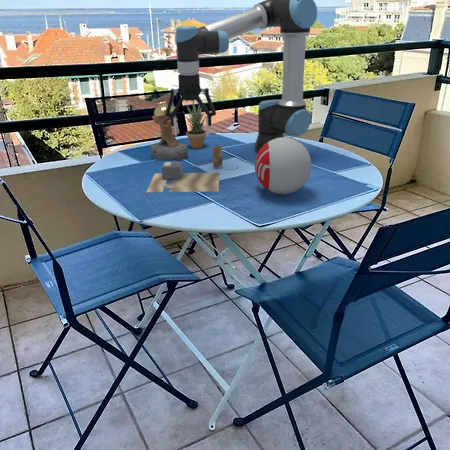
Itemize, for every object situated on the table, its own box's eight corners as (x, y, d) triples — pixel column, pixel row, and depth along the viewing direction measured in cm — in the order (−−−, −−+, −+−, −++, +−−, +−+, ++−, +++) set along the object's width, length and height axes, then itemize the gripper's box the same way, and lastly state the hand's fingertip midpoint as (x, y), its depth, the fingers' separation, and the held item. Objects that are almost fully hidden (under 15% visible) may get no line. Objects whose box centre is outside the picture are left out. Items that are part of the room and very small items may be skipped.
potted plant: (189, 143, 223) (186, 92, 212) (208, 144, 222) (206, 92, 211) (185, 149, 214) (182, 96, 203) (204, 150, 213) (202, 96, 202)
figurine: (189, 157, 203) (186, 101, 192) (171, 163, 196) (167, 105, 185) (169, 151, 212) (165, 97, 200) (151, 157, 204) (145, 101, 193)
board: (219, 176, 180) (219, 172, 179) (218, 195, 162) (218, 191, 161) (155, 176, 180) (154, 173, 180) (146, 196, 162) (146, 192, 162)
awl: (222, 168, 188) (222, 145, 184) (222, 172, 184) (222, 148, 180) (213, 168, 188) (212, 145, 184) (212, 172, 184) (212, 148, 180)
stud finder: (182, 174, 178) (181, 161, 176) (180, 179, 173) (179, 166, 171) (164, 174, 178) (163, 161, 176) (162, 179, 173) (161, 166, 171)
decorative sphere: (253, 182, 173) (254, 131, 164) (305, 182, 172) (309, 130, 163) (255, 203, 155) (256, 146, 146) (313, 202, 154) (317, 146, 145)
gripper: (222, 71, 162) (223, 131, 172) (157, 72, 162) (161, 132, 172) (221, 74, 155) (223, 136, 165) (153, 75, 156) (159, 137, 165)
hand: (191, 134), depth 169 cm, fingers open, 11 cm apart
